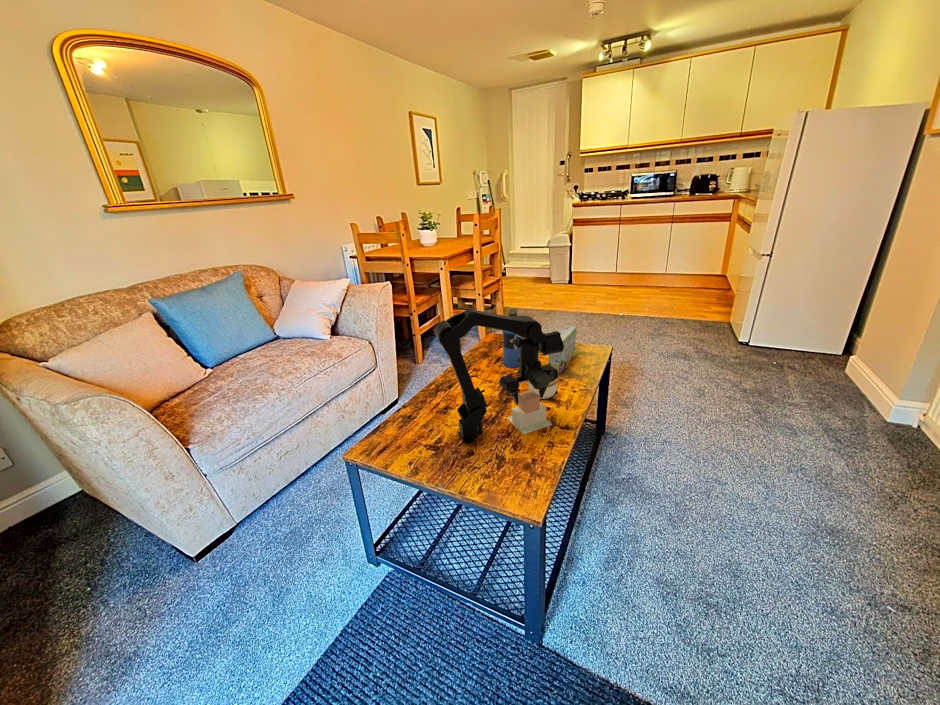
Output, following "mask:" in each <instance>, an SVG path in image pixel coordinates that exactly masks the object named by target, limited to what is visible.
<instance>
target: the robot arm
mask: <svg viewBox="0 0 940 705" xmlns="http://www.w3.org/2000/svg"><path fill="white" fill-rule="evenodd" d="M476 326H477V327H484V328H488V329H495V330H500V331H502V330H505V331H510V332H513V333H515V334H517V335H519V336H521V337H523V339H521V338H520V337H518V338H517V339H516V340H515V341H513V344H514V345H515V346H516V347H520V358H518V362H519V363H520V368H519V369H518V370H517V374H518V375H519V376H517V377H514V376H513V375H512V374H507V375H504V376H500V378H499V379H498V385H499V386H500V387H501V388H502V389H503V390H504V391H506V393H507V392H508V393H510V396H511V398H512V400H513V402H514V403H515V405H516V406H518V393H520V391H521V389H520V384H523V383H526V382H528V381H530V382H531V384H532V385H533V387H534V388H535V389H539V395H540V397H541V398H543V395H544V393H545V391H546V388H547V386H548V385H549V383H551V382H553V381H555V379H557V378H558V379H559V376H558V374H559V373H558V370H557V369H555V368H553V367H552V366H550V365H549V364H546V365H545V364H544V365H542V361H540V360H539V355H540V354H539V353H541V354H542V355H543V356H549V354H555V353H560V352H562V351H563V349H564V344H563V341H562V338H561V333H559V331H558V330H555V331H551V332H547V333H544V332H543V330H542V328H543V327H542V325H541V323H540V322H539V321H537V320H536V319H534V318H533V317H532V316H530V315H518V316H514V317H508V315H502V314H497V313H493V312H492V313H491V312H487V311H484V310H483V311H481V310H477V309H474V308H467V309H465V310H464V311H462V312H460V313H457V314H455V315H453V316H450V317H448V319H446V320H441V321H439V322H438V323H437V324H436V325H435V327H434V330H433V332H434V334H435V336H436V338H437V339H438V341H439V343H440V345H441V346H442V347H443V349H444V351H445V352H446V354H447V357H448V359H449V361H450V363H451V366H452V368H453V371H454V374H455V376H456V379H457V381H458V384H459V386H460V389H461V398H462V403H461V404H460V406H458V407H457V409H456V411H457V413H458V416H459V417H460V419H458V429H459V431H458V432H457V435H458V437H460V439H461V440H462V441H463V443H464V444H465V445H466V444H470V443H473V442H476V441H477V440H476V438H477V437H479V436H480V435H481V434H483V418H484V416H485V415H486V413H487V407H488V406H489V405H488V404H487V402H486V400H485V395H484V394H483V392H482V390H481V389H480V388H479V387H480V386H479V387H476V388H475V386H474V383H473V381H472V378H471V375H470V373H469V369H468V368H467V365H466V362H465V360H464V357H463V354H462V351H461V349H462V348H461V344H462V343H461V339H462V338H463V337H465V336H466V335H467V334H468V333H469V331H471V330H472V328H474V327H476Z"/></svg>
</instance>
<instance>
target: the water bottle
mask: <svg viewBox="0 0 940 705" xmlns="http://www.w3.org/2000/svg"><path fill="white" fill-rule="evenodd" d="M507 316H508V317H514V316H519V314H518V310H517V309H515V308H511V309H510V310H509V311H508V314H507ZM501 331H502V335H503V342H502V343H503V345H502V355H503V366H504V367H506V368H508V369H520V363H519V362H518V358H520V347H516V346H515V345H514V344H513V341H515V340H516V339H517V338H518V337H520V338H521V339H524V337H521V336H519V335H517V334H515V333H513V332H510V331H505V330H501Z"/></svg>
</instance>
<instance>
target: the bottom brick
mask: <svg viewBox="0 0 940 705" xmlns="http://www.w3.org/2000/svg"><path fill="white" fill-rule="evenodd" d="M511 416H512V422H513V423H514V424H515V425H516V426H517V427H518V428H519V429H522V428H525V427H528V426H531V425H534V424H537V423H540V422H543V421H546V419H547V407H546V406H545V405H544V404H542V402H540V410H537V411H534V412H531V413H528V414H526V413H525V412H524V411H523V410H522V409H521V408H519V407H518V406H516V407H513V408H511Z"/></svg>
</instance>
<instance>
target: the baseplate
mask: <svg viewBox="0 0 940 705" xmlns="http://www.w3.org/2000/svg"><path fill="white" fill-rule="evenodd" d="M506 419H507V420H508V421H509V422H510V423H511V425H513V426H514V427H515V428H516V429H517V430H518V431H519V432H520V433H522V435H526V434H529V433H531V432H535V431H539V430H541V429H544V428H547V427H550V426H553V423H551V421H550V420H548V419H547V418H546V421H543V422H540V423H537V424H534V425H531V426H528V427H525V428H522V429H519V428H518V427H517V426H516V425H515V424H514V423H513V422H512V415H510V416H507V417H506Z"/></svg>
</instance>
